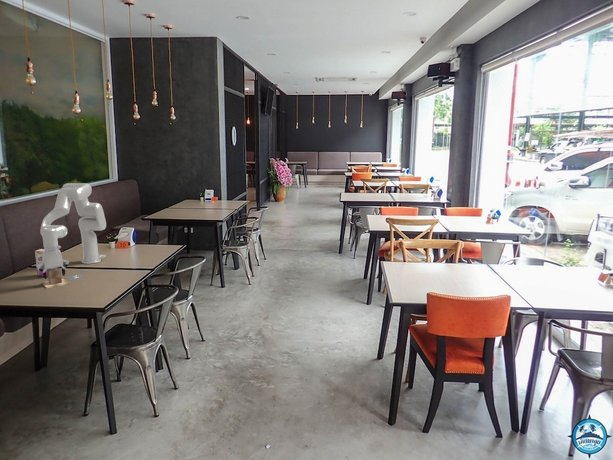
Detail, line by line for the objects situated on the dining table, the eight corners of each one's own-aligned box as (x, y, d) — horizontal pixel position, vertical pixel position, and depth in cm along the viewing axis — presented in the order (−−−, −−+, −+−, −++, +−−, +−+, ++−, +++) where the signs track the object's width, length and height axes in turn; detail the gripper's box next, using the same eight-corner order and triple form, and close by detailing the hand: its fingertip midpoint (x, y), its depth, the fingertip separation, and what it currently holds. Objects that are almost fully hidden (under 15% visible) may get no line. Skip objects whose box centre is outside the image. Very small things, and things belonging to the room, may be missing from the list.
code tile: (81, 274, 302) (81, 273, 302) (85, 277, 295) (85, 277, 295) (66, 276, 296) (66, 276, 296) (69, 280, 290) (69, 279, 290)
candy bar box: (37, 276, 299) (34, 250, 295) (43, 273, 303) (40, 248, 300) (50, 277, 295) (47, 251, 292) (57, 275, 300) (54, 250, 296)
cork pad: (63, 279, 291) (63, 278, 291) (68, 284, 282) (68, 282, 281) (42, 283, 283) (41, 282, 283) (46, 288, 274) (46, 287, 274)
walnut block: (59, 280, 286) (58, 267, 285) (62, 282, 282) (60, 269, 280) (48, 282, 283) (47, 269, 281) (50, 284, 278) (49, 271, 277)
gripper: (65, 245, 286) (68, 272, 290) (33, 250, 276) (36, 278, 279) (68, 247, 281) (72, 275, 284) (35, 252, 270) (39, 281, 273)
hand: (54, 276), depth 282 cm, fingers open, 9 cm apart
